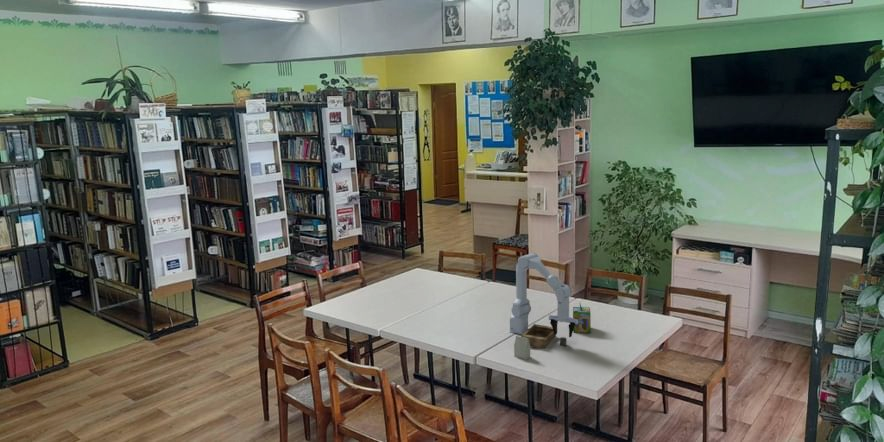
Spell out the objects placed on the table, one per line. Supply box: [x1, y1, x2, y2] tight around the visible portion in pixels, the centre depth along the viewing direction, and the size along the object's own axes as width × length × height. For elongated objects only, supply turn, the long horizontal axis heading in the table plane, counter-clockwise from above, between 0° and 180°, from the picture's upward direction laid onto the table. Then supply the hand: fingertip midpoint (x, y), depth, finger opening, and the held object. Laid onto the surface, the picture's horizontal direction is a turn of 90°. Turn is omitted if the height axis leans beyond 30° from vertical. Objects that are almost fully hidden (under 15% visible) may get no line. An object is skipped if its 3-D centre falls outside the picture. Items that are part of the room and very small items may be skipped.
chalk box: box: [572, 302, 592, 334], centre depth 325 cm, size 9×9×15 cm
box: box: [520, 323, 557, 350], centre depth 313 cm, size 12×18×5 cm, turn 150°
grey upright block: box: [513, 335, 531, 361], centre depth 294 cm, size 4×7×10 cm, turn 50°
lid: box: [559, 336, 567, 347], centre depth 307 cm, size 11×15×4 cm
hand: (563, 335), depth 306 cm, fingers open, 7 cm apart
